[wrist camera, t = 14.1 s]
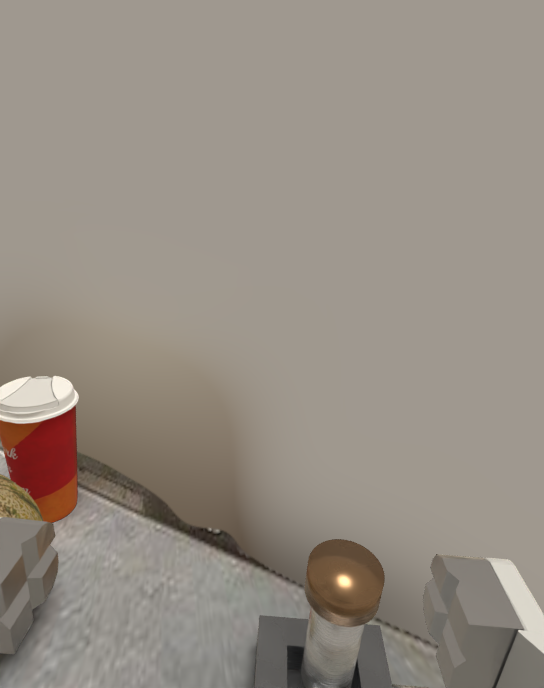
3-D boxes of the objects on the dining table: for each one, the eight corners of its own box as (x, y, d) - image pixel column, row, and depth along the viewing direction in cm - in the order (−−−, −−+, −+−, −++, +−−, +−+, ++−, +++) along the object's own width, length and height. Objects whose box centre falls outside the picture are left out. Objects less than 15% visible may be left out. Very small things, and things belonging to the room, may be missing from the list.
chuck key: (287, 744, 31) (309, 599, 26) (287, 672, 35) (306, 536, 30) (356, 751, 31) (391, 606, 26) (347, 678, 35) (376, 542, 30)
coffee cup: (20, 485, 54) (3, 373, 49) (92, 479, 56) (83, 372, 51) (-3, 537, 47) (-27, 412, 41) (81, 529, 48) (69, 408, 43)
